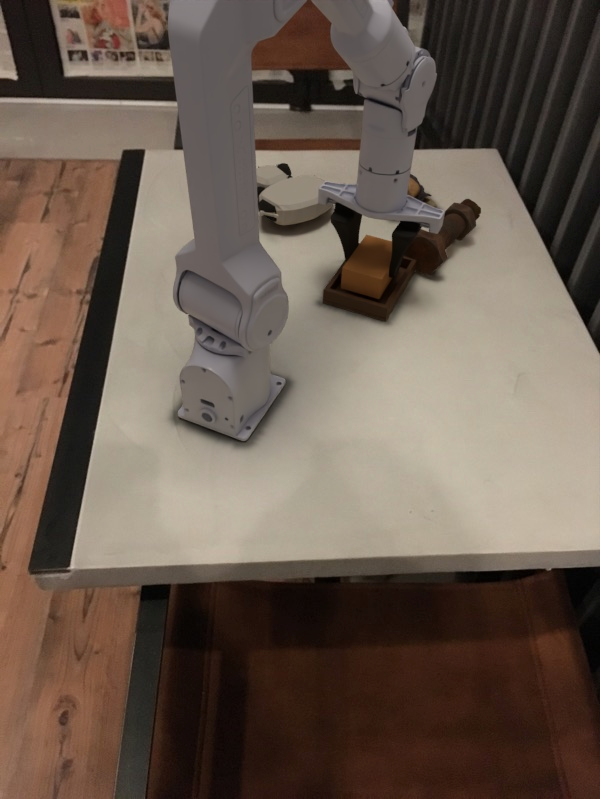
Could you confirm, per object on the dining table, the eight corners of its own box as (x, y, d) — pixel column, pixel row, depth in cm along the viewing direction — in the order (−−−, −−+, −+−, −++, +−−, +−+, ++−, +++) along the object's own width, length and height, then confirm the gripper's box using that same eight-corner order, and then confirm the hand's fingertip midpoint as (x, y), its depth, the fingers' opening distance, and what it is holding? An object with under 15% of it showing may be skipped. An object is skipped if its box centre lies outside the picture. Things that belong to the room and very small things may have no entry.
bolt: (470, 234, 97) (421, 282, 88) (446, 208, 97) (394, 254, 88) (498, 208, 92) (450, 256, 83) (472, 181, 92) (421, 226, 83)
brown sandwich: (440, 211, 99) (444, 187, 96) (388, 222, 96) (392, 198, 94) (404, 176, 105) (407, 153, 103) (355, 186, 103) (357, 163, 100)
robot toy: (218, 204, 100) (280, 244, 91) (215, 174, 97) (279, 212, 88) (285, 179, 105) (349, 214, 97) (284, 150, 102) (350, 184, 94)
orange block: (379, 299, 81) (381, 279, 79) (340, 288, 83) (341, 267, 81) (400, 264, 86) (404, 244, 84) (364, 254, 88) (366, 234, 86)
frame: (385, 321, 81) (387, 308, 80) (322, 302, 83) (323, 289, 82) (415, 271, 88) (417, 258, 87) (356, 255, 90) (357, 242, 89)
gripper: (460, 161, 74) (439, 265, 84) (337, 133, 78) (330, 235, 88) (441, 190, 70) (421, 297, 80) (312, 159, 74) (308, 264, 84)
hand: (372, 267), depth 84 cm, fingers closed on orange block, 5 cm apart
